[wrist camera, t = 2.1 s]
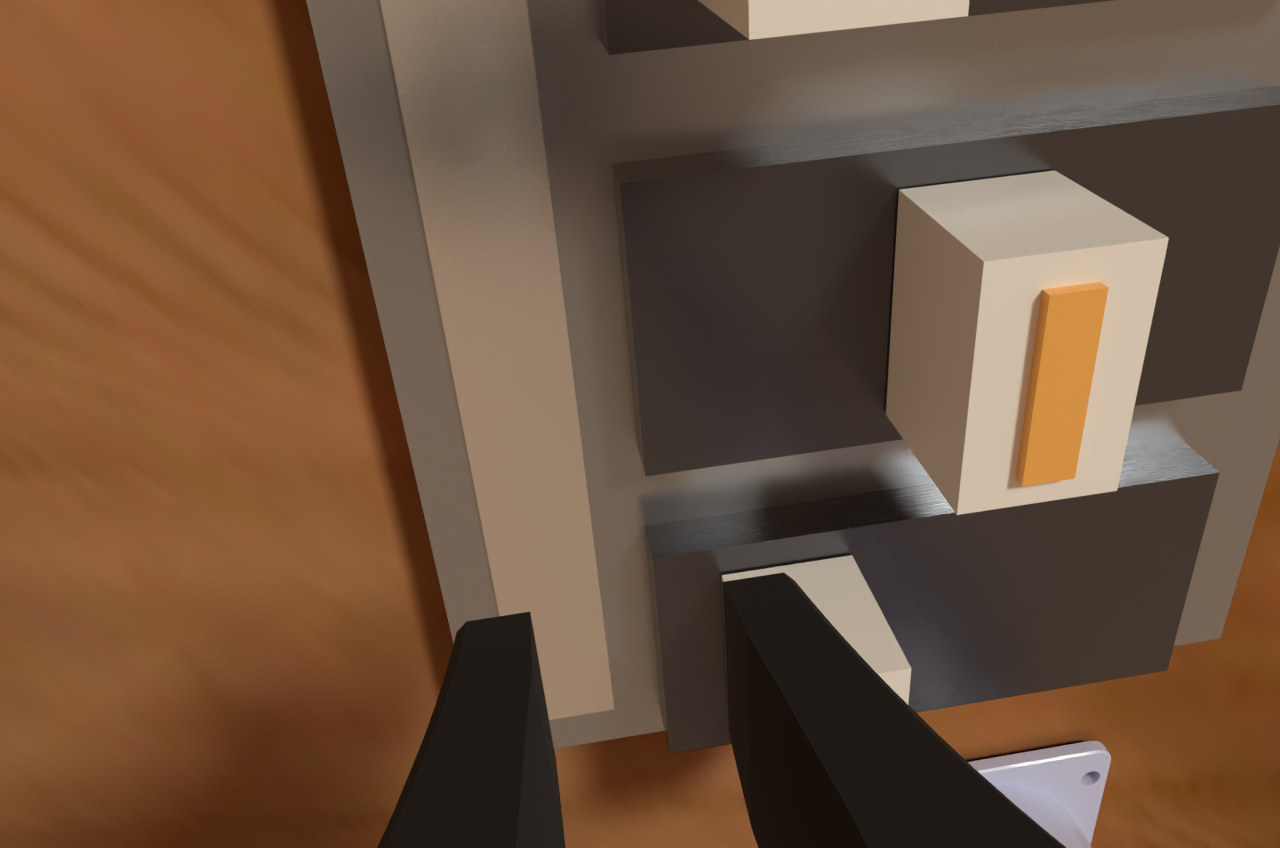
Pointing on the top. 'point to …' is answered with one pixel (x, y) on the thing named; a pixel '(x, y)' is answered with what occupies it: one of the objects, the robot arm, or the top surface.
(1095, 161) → the breaker panel
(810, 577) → the block
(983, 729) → the top surface
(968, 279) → the breaker middle
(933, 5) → the block
